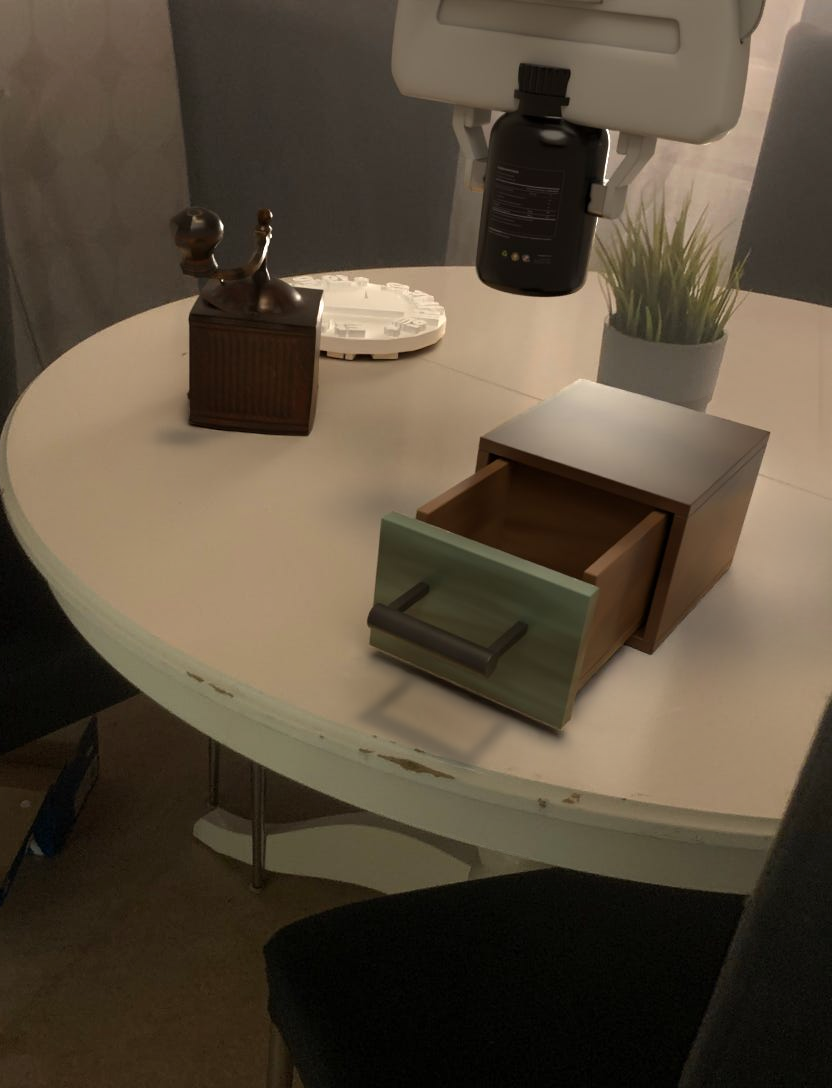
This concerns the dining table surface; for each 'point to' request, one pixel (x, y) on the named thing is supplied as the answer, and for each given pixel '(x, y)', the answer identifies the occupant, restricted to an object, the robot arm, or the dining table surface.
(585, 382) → the cabinet
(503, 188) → the supplement bottle
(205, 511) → the dining table surface
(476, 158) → the robot arm
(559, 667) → the drawer
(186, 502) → the dining table surface
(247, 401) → the coffee grinder
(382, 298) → the white wall clock
